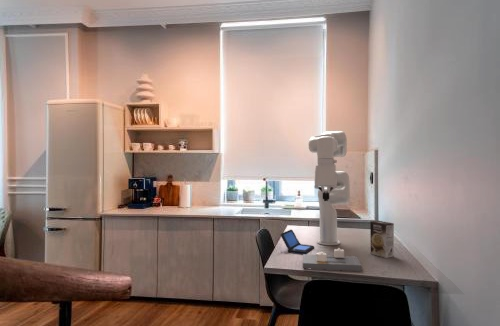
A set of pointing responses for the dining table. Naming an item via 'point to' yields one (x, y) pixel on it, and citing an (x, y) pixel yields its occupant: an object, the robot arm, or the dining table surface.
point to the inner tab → (339, 253)
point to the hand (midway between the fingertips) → (325, 200)
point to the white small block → (321, 257)
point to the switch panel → (332, 263)
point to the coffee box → (382, 238)
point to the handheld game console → (294, 243)
